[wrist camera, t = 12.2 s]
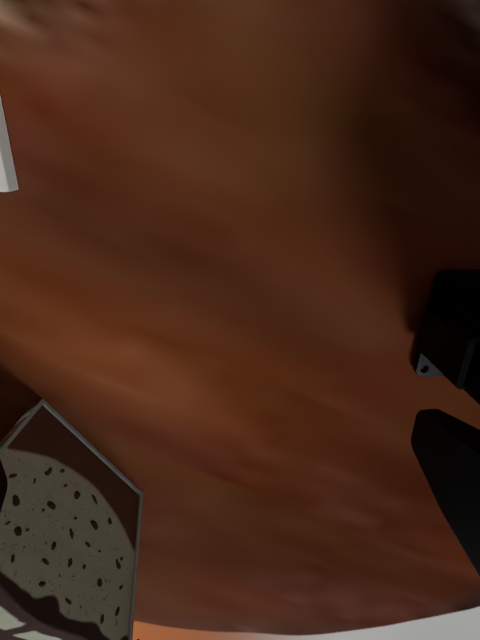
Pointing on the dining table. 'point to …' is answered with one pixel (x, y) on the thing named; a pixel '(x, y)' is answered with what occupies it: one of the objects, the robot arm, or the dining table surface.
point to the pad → (6, 158)
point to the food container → (65, 535)
